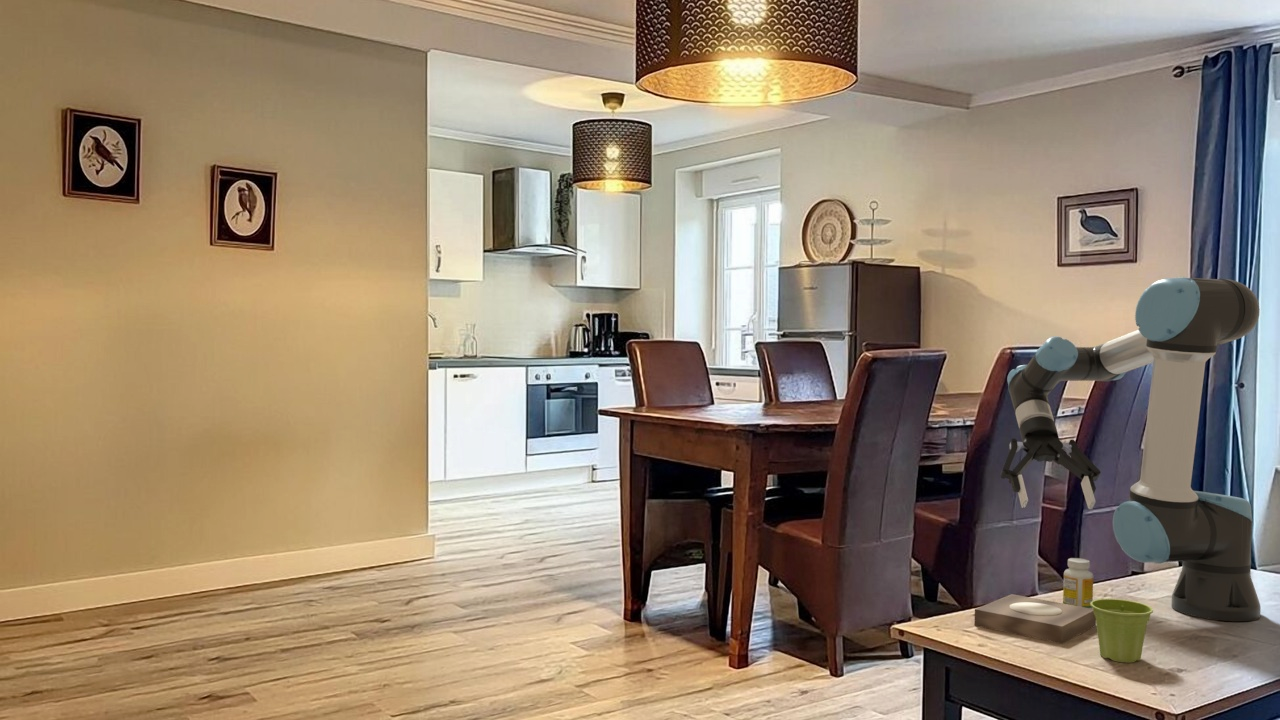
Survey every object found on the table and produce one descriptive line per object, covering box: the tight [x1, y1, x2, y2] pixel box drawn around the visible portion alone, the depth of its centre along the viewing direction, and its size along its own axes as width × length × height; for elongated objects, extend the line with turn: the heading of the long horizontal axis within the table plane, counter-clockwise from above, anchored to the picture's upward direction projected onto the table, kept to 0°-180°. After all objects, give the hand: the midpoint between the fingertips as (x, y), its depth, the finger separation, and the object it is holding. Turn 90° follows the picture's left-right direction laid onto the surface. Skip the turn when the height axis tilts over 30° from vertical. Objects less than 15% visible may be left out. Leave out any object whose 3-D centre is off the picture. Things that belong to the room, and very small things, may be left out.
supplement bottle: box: [1062, 557, 1094, 609], centre depth 201 cm, size 5×5×10 cm
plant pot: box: [1090, 598, 1154, 664], centre depth 170 cm, size 9×9×9 cm
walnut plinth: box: [974, 593, 1097, 645], centre depth 189 cm, size 16×16×3 cm
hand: (1058, 504), depth 212 cm, fingers open, 13 cm apart
